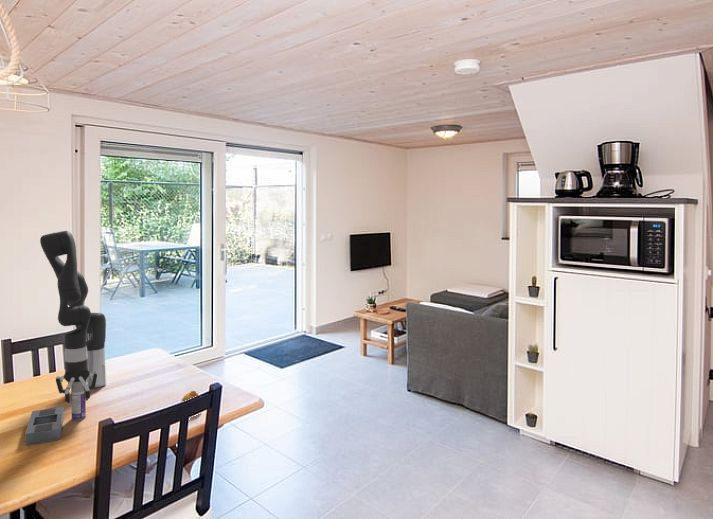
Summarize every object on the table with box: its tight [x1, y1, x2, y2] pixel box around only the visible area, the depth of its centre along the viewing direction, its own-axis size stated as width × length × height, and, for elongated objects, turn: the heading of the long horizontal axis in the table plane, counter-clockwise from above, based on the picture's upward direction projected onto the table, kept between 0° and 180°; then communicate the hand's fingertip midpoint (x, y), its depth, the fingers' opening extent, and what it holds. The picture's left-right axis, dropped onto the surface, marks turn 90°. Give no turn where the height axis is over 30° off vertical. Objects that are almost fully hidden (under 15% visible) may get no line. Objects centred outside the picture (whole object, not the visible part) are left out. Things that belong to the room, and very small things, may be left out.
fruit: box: [180, 390, 200, 403], centre depth 194 cm, size 8×8×8 cm
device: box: [24, 406, 65, 446], centre depth 174 cm, size 10×20×4 cm, turn 28°
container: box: [70, 381, 87, 422], centre depth 183 cm, size 5×5×15 cm
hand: (77, 400), depth 183 cm, fingers open, 5 cm apart
